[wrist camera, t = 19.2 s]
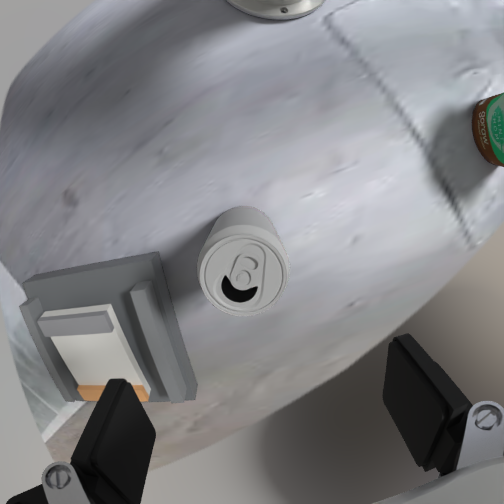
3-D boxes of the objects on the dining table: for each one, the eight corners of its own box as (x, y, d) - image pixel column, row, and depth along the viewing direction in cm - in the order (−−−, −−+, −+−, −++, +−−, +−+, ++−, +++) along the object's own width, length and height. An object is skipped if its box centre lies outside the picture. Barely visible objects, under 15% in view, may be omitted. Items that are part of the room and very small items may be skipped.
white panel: (45, 311, 27) (36, 321, 25) (110, 303, 27) (104, 315, 25) (89, 389, 31) (84, 400, 29) (150, 389, 31) (147, 401, 29)
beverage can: (204, 253, 31) (181, 304, 20) (225, 195, 30) (212, 214, 18) (261, 274, 32) (270, 333, 20) (284, 218, 30) (308, 250, 19)
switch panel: (35, 274, 31) (10, 290, 26) (158, 251, 31) (143, 268, 26) (83, 387, 36) (69, 411, 31) (197, 384, 36) (193, 413, 31)
